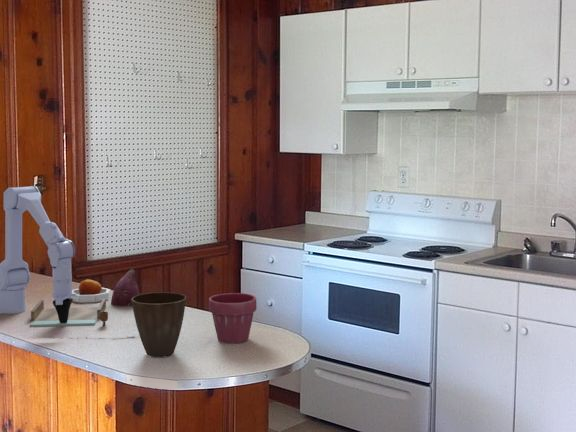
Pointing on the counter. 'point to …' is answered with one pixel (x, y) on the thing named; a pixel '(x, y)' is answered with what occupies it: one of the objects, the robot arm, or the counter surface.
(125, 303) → the vegetable
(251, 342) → the counter surface
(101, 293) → the fruit dish
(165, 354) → the plant pot
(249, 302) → the plant pot
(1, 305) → the robot arm
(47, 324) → the panel
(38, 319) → the tan lipped tray
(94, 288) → the fruit
